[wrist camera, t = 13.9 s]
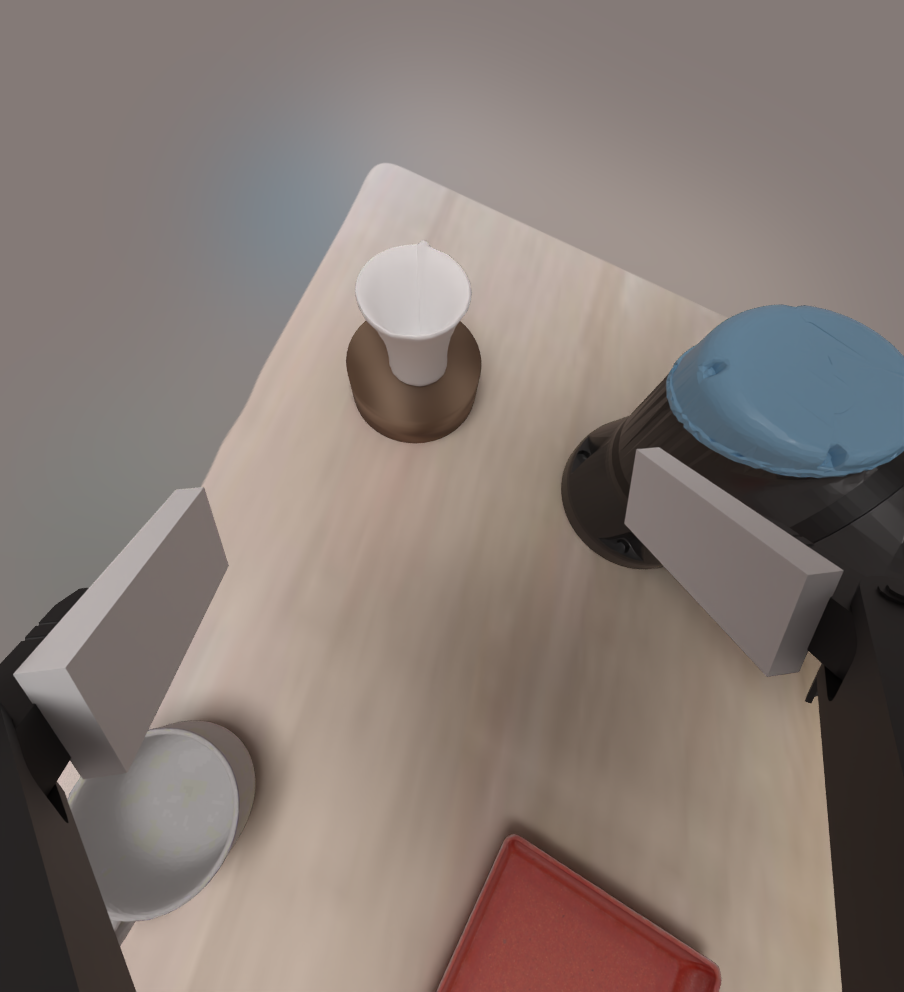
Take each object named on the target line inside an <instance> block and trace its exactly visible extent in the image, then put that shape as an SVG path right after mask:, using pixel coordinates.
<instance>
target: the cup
mask: <svg viewBox="0 0 904 992" xmlns="http://www.w3.org/2000/svg"><path fill="white" fill-rule="evenodd" d="M471 295H472V291H471V285H470V281H469V279H468V276H467V274H466V273H465V271H464V270H463V268H462V267H461V265H459V264H458V263H457V262H456V261H455V260H454V259H453V258H452V257H451V256H450V255H448V254H445V253H443V252H441V251H439V250H437V249H434V248H432V247H431V246H430V245H429V244H428V243H427V241H425V240H422V241H420V243H418V244H412V245H402V246H397V247H393V248H389V249H387V250H385V251H383V252H381V253H379V254H377V255H375V256H374V257H373V258H371V259H370V260H369V261H368V262H367V263H366V264H365V265H364V267H363V268H362V269H361V271H360V273H359V275H358V277H357V281H356V287H355V296H356V300H357V304H358V307H359V309H360V311H361V312H362V314H363V316H364V318H365V320H366V321H367V322H368V323H369V324H370V325H371V326H372V327H373V328H374V329H376V330H377V332H378V334H379V335H380V337H381V338H382V340H383V341H384V343H385V345H386V348H387V351H388V356H389V365H390V367H391V370H392V372H393V374H394V375H395V376H396V377H397V378H398V379H399V380H400V381H402V382H404V383H406V384H408V385H413V386H425V385H429V384H432V383H434V382H436V381H437V380H439V379H440V378H441V377H442V376H443V375H444V372H445V370H446V367H447V351H448V346H449V342H450V338H451V336H452V334H453V332H454V329H455V327H456V326H457V324H458V323H459V322H460V320H461V319H462V318H463V316H464V315H465V313H466V312H467V311H468V308H469V305H470V302H471Z"/></svg>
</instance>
